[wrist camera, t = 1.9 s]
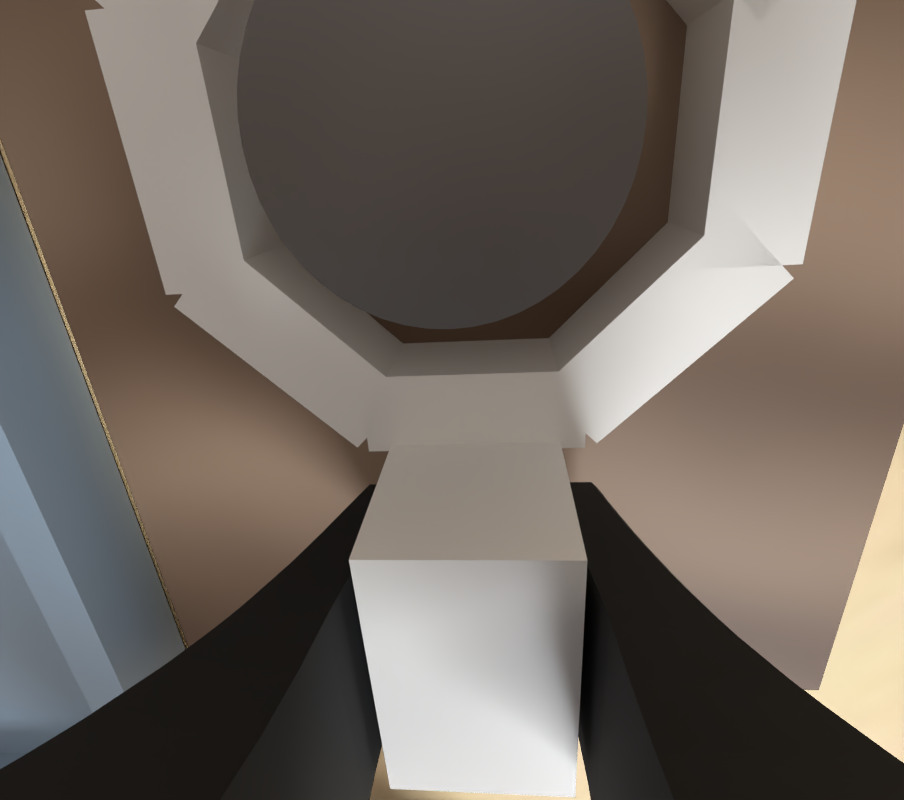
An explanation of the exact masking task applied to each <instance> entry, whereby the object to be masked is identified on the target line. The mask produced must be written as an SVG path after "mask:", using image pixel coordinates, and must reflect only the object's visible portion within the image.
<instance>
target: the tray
mask: <svg viewBox="0 0 904 800" xmlns="http://www.w3.org/2000/svg"><path fill="white" fill-rule="evenodd" d="M184 650H185V647H184V644H183V642H182V639H181V636H180V634H179V631H178V628H177V626H176V623H175V620H174V618H173V615H172V612H171V610H170V607H169V604H168V602H167V599H166V596H165V594H164V591H163V588H162V586H161V583H160V580H159V578H158V575H157V572H156V569H155V567H154V564H153V561H152V559H151V556H150V553H149V551H148V548H147V545H146V543H145V540H144V537H143V535H142V532H141V529H140V527H139V524H138V521H137V519H136V516H135V513H134V511H133V508H132V505H131V503H130V500H129V497H128V495H127V492H126V489H125V487H124V484H123V481H122V479H121V476H120V473H119V471H118V468H117V465H116V463H115V460H114V457H113V454H112V452H111V449H110V446H109V444H108V441H107V438H106V436H105V433H104V430H103V428H102V425H101V422H100V420H99V417H98V414H97V412H96V409H95V406H94V404H93V401H92V398H91V396H90V393H89V390H88V388H87V385H86V382H85V380H84V377H83V374H82V372H81V369H80V366H79V364H78V361H77V358H76V356H75V353H74V350H73V348H72V345H71V342H70V340H69V337H68V334H67V331H66V329H65V326H64V323H63V321H62V318H61V315H60V313H59V310H58V307H57V305H56V302H55V299H54V297H53V294H52V291H51V289H50V286H49V283H48V281H47V278H46V275H45V273H44V270H43V267H42V265H41V262H40V259H39V257H38V254H37V251H36V249H35V246H34V243H33V241H32V238H31V235H30V233H29V230H28V227H27V225H26V222H25V219H24V217H23V214H22V211H21V208H20V206H19V203H18V200H17V198H16V195H15V192H14V190H13V187H12V184H11V182H10V179H9V176H8V174H7V171H6V168H5V166H4V163H3V160H2V158H1V155H0V769H1V768H3V767H5V766H6V765H8V764H10V763H12V762H13V761H15V760H17V759H19V758H20V757H22V756H24V755H25V754H27V753H28V752H30V751H32V750H33V749H35V748H37V747H38V746H40V745H42V744H43V743H45V742H47V741H48V740H50V739H52V738H53V737H55V736H57V735H58V734H60V733H62V732H63V731H65V730H67V729H68V728H70V727H71V726H73V725H75V724H76V723H78V722H79V721H81V720H83V719H84V718H86V717H87V716H89V715H90V714H92V713H93V712H95V711H96V710H98V709H99V708H101V707H102V706H104V705H105V704H107V703H108V702H110V701H111V700H113V699H114V698H116V697H117V696H119V695H120V694H122V693H123V692H125V691H126V690H128V689H129V688H131V687H132V686H134V685H135V684H137V683H138V682H140V681H141V680H143V679H144V678H146V677H147V676H149V675H150V674H152V673H153V672H155V671H156V670H158V669H159V668H161V667H162V666H164V665H165V664H166V663H168V662H169V661H171V660H172V659H173V658H175V657H176V656H178V655H179V654H180V653H182V652H183V651H184Z"/></svg>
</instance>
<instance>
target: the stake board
mask: <svg viewBox="0 0 904 800" xmlns="http://www.w3.org/2000/svg"><path fill="white" fill-rule="evenodd" d="M94 9H104V8H103V7H102V6H101V5H100V4H99V3H98V2H97V1H95V0H0V139H1V141H2V144H3V147H4V150H5V152H6V155H7V158H8V160H9V163H10V166H11V168H12V171H13V174H14V177H15V179H16V182H17V185H18V187H19V190H20V193H21V196H22V198H23V201H24V204H25V206H26V209H27V212H28V214H29V217H30V220H31V223H32V225H33V228H34V231H35V233H36V236H37V239H38V242H39V244H40V247H41V250H42V252H43V255H44V258H45V260H46V263H47V266H48V269H49V271H50V274H51V277H52V279H53V282H54V285H55V287H56V290H57V293H58V296H59V298H60V301H61V304H62V306H63V309H64V312H65V315H66V317H67V320H68V323H69V325H70V328H71V331H72V333H73V336H74V339H75V342H76V344H77V347H78V350H79V352H80V355H81V358H82V361H83V363H84V366H85V369H86V371H87V374H88V377H89V379H90V382H91V385H92V388H93V390H94V393H95V396H96V398H97V401H98V404H99V406H100V409H101V412H102V415H103V417H104V420H105V423H106V425H107V428H108V431H109V434H110V436H111V439H112V442H113V444H114V447H115V450H116V452H117V455H118V458H119V461H120V463H121V466H122V469H123V471H124V474H125V477H126V480H127V482H128V485H129V488H130V490H131V493H132V496H133V498H134V501H135V504H136V507H137V509H138V512H139V515H140V517H141V520H142V523H143V525H144V528H145V531H146V534H147V536H148V539H149V542H150V544H151V547H152V550H153V553H154V555H155V558H156V561H157V563H158V566H159V569H160V571H161V574H162V577H163V580H164V582H165V585H166V588H167V590H168V593H169V596H170V599H171V601H172V604H173V607H174V609H175V612H176V615H177V617H178V620H179V623H180V626H181V628H182V631H183V634H184V636H185V639H186V642H187V644H188V647H190V646H191V645H192V644H194V643H195V642H196V641H198V640H199V639H200V638H202V637H203V636H204V635H206V634H207V633H208V632H210V631H211V630H212V629H214V628H215V627H216V626H217V625H219V624H220V623H221V622H222V621H224V620H225V619H226V618H227V617H229V616H230V615H231V614H232V613H234V612H235V611H236V610H237V609H239V608H240V607H241V606H242V605H243V604H245V603H246V602H247V601H248V600H249V599H250V598H252V597H253V596H254V595H255V594H256V593H257V592H258V591H259V590H261V589H262V588H263V587H264V586H265V585H266V584H267V583H268V582H270V581H271V580H272V579H273V578H274V577H275V576H276V575H277V574H279V573H280V572H281V571H282V570H283V569H284V568H285V567H287V566H288V565H289V564H290V563H291V562H292V561H293V560H294V559H295V558H296V557H297V556H298V555H299V554H300V553H301V552H302V551H303V550H305V549H306V548H307V547H308V546H309V545H310V544H311V543H312V542H313V541H314V540H315V539H316V538H317V537H318V536H319V535H320V534H321V533H322V532H323V531H324V530H325V529H326V528H327V527H328V526H329V525H330V524H331V523H332V522H333V521H334V520H335V519H336V518H337V517H338V516H339V515H340V514H341V513H342V512H343V511H344V510H345V509H346V508H347V507H348V506H349V505H350V504H351V503H352V502H353V501H354V500H355V499H356V498H357V497H358V496H359V495H360V494H361V493H362V492H363V491H364V490H365V489H366V488H367V487H368V486H369V485H370V484H377V482H378V479H379V477H380V474H381V471H382V468H383V466H384V463H385V460H386V458H387V455H388V452H389V451H369V448H368V441H367V438H366V439H365V440H364V441H363V442H362V443H361V445H360V446H359V447H358V448H357V447H356V446H355V445H353V444H352V443H351V442H350V441H348V440H347V439H346V438H344V437H343V436H342V435H340V434H339V433H338V432H336V431H335V430H334V429H333V428H331V427H330V426H329V425H327V424H326V423H325V422H323V421H322V420H321V419H320V418H318V417H317V416H316V415H314V414H313V413H312V412H310V411H309V410H308V409H307V408H305V407H304V406H303V405H301V404H300V403H299V402H297V401H296V400H295V399H294V398H292V397H291V396H290V395H288V394H287V393H286V392H284V391H283V390H282V389H281V388H279V387H278V386H277V385H275V384H274V383H273V382H271V381H270V380H269V379H268V378H266V377H265V376H264V375H262V374H261V373H260V372H258V371H257V370H256V369H255V368H253V367H252V366H251V365H249V364H248V363H247V362H245V361H244V360H243V359H242V358H240V357H239V356H238V355H236V354H235V353H234V352H232V351H231V350H230V349H229V348H227V347H226V346H225V345H223V344H222V343H221V342H219V341H218V340H217V339H216V338H214V337H213V336H212V335H210V334H209V333H208V332H206V331H205V330H204V329H203V328H201V327H200V326H199V325H197V324H196V323H195V322H193V321H192V320H191V319H190V318H188V317H187V316H186V315H184V314H183V313H182V312H180V311H179V310H178V309H177V308H175V307H174V306H175V305H176V303H177V302H178V300H179V298H180V297H181V295H182V294H172V295H166V293H165V290H164V286H163V283H162V279H161V276H160V272H159V269H158V265H157V262H156V258H155V255H154V251H153V248H152V244H151V241H150V237H149V234H148V230H147V227H146V223H145V220H144V216H143V213H142V209H141V206H140V202H139V199H138V195H137V192H136V188H135V185H134V181H133V178H132V174H131V171H130V167H129V164H128V160H127V157H126V153H125V150H124V146H123V143H122V139H121V136H120V132H119V129H118V125H117V122H116V118H115V115H114V111H113V108H112V104H111V101H110V97H109V94H108V90H107V87H106V83H105V80H104V76H103V73H102V69H101V66H100V62H99V59H98V55H97V52H96V48H95V45H94V41H93V38H92V34H91V31H90V27H89V24H88V20H87V17H86V13H85V10H94ZM686 31H687V25H686V23H685V22H684V21H683V20H682V19H681V17H680V16H679V15H678V14H677V13H676V11H675V10H674V9H673V8H672V7H671V5H670V4H669V3H668V2H667V1H666V0H254V3H253V6H252V9H251V12H250V15H249V18H248V21H247V24H246V27H245V32H244V37H243V42H242V47H241V52H240V57H239V69H238V81H237V105H238V122H239V129H240V136H241V143H242V149H243V152H244V156H245V160H246V164H247V168H248V172H249V175H250V178H251V180H252V183H253V186H254V188H255V191H256V194H257V196H258V199H259V201H260V203H261V205H262V207H263V209H264V211H265V213H266V215H267V217H268V219H269V221H270V223H271V225H272V226H273V228H274V229H275V231H276V232H277V234H278V235H279V237H280V238H281V240H282V241H283V243H284V244H285V246H286V247H287V248H288V250H289V251H290V252H291V253H292V254H293V255H294V257H295V258H296V259H297V260H298V261H299V263H300V264H301V265H302V266H303V267H304V268H305V269H306V270H307V271H308V272H309V273H310V274H311V275H312V276H313V277H314V278H315V279H317V280H318V281H319V282H320V283H321V284H322V285H323V286H325V287H326V288H327V289H329V290H330V291H332V292H333V293H334V294H336V295H337V296H338V297H340V298H341V299H343V300H345V301H346V302H348V303H350V304H352V305H353V306H355V307H357V308H359V309H360V310H362V311H365V312H366V313H368V314H369V315H370V316H371V317H372V318H373V319H375V320H376V321H377V322H378V323H379V324H381V325H382V326H383V327H384V328H385V329H386V330H388V331H389V332H390V333H391V334H392V335H394V336H395V337H396V338H397V339H398V340H399V341H401V342H402V343H428V342H455V341H482V340H510V339H537V338H549V337H550V336H551V335H552V334H554V333H555V332H556V331H557V330H558V329H559V328H560V327H561V326H562V325H563V324H564V323H565V322H566V321H567V320H568V319H569V318H570V317H571V316H572V315H573V314H574V313H575V312H576V311H577V310H578V309H579V308H580V307H581V306H582V305H583V304H584V303H585V302H586V301H587V300H588V299H589V298H591V297H592V296H593V295H594V294H595V293H596V292H597V291H598V290H599V289H600V288H601V287H602V286H603V285H604V284H605V283H606V282H607V281H608V280H609V279H610V278H611V277H612V276H613V275H614V274H615V273H616V272H617V271H618V270H619V269H620V268H621V267H622V266H623V265H624V264H625V263H627V262H628V261H629V260H630V259H631V258H632V257H633V256H634V255H635V254H636V253H637V252H638V251H639V250H640V249H641V248H642V247H643V246H644V245H645V244H646V243H647V242H648V241H649V240H650V239H651V238H652V237H653V236H654V235H655V234H656V233H657V232H658V231H659V230H660V229H661V228H662V227H664V226H665V225H666V224H667V223H668V214H669V204H670V194H671V184H672V174H673V164H674V153H675V143H676V133H677V123H678V113H679V103H680V92H681V82H682V72H683V62H684V52H685V42H686ZM782 266H783V267H784V268H785V269H786V270H787V271H788V272H789V273H790V275H791V276H792V277H793V278H794V279H793V280H791V281H790V282H789V283H788V284H787V285H785V286H784V287H783V288H782V289H781V290H780V291H778V292H777V293H776V294H775V295H774V296H772V297H771V298H770V299H769V300H768V301H766V302H765V303H764V304H763V305H762V306H760V307H759V308H758V309H757V310H756V311H754V312H753V313H752V314H751V315H750V316H748V317H747V318H746V319H745V320H744V321H743V322H741V323H740V324H739V325H738V326H737V327H735V328H734V329H733V330H732V331H731V332H729V333H728V334H727V335H726V336H725V337H723V338H722V339H721V340H720V341H719V342H717V343H716V344H715V345H714V346H713V347H711V348H710V349H709V350H708V351H707V352H705V353H704V354H703V355H702V356H701V357H700V358H698V359H697V360H696V361H695V362H694V363H692V364H691V365H690V366H689V367H688V368H686V369H685V370H684V371H683V372H682V373H680V374H679V375H678V376H677V377H676V378H674V379H673V380H672V381H671V382H670V383H668V384H667V385H666V386H665V387H664V388H662V389H661V390H660V391H659V392H658V393H657V394H655V395H654V396H653V397H652V398H651V399H649V400H648V401H647V402H646V403H645V404H643V405H642V406H641V407H640V408H639V409H637V410H636V411H635V412H634V413H633V414H631V415H630V416H629V417H628V418H627V419H625V420H624V421H623V422H622V423H621V424H619V425H618V426H617V427H616V428H615V429H614V430H612V431H611V432H610V433H609V434H608V435H606V436H605V437H604V438H603V439H602V440H600V441H599V442H598V443H596V442H595V441H594V440H593V439H591V438H590V437H589V436H588V435H587V434H586V435H585V448H562V451H563V455H564V459H565V464H566V468H567V473H568V477H569V481H570V482H592V483H593V484H594V485H595V486H596V487H597V488H598V489H599V490H600V492H601V493H602V494H603V495H604V497H605V498H606V499H607V500H608V502H609V503H610V504H611V505H612V507H613V508H614V509H615V510H616V511H617V513H618V514H619V515H620V516H621V517H622V519H623V520H624V521H625V522H626V523H627V524H628V526H629V527H630V528H631V529H632V530H633V531H634V533H635V534H636V535H637V536H638V537H639V538H640V539H641V540H642V542H643V543H644V544H645V545H646V546H647V547H648V548H649V549H650V550H651V551H652V552H653V554H654V555H655V556H656V557H657V558H658V559H659V560H660V561H661V562H662V563H663V564H664V565H665V566H666V567H667V568H668V570H669V571H670V572H671V573H672V574H673V575H674V576H675V577H676V578H677V579H678V580H679V581H680V582H681V583H682V584H683V585H684V586H685V587H686V588H687V589H688V590H689V591H690V592H691V593H692V594H693V595H694V596H695V597H696V598H697V599H698V600H700V601H701V602H702V603H703V604H704V605H705V606H706V607H707V608H708V609H709V610H710V611H711V612H712V613H713V614H714V615H715V616H716V617H717V618H718V619H720V620H721V621H722V622H723V623H724V624H725V625H726V626H727V627H728V628H729V629H731V630H732V631H733V632H734V633H735V634H736V635H737V636H738V637H740V638H741V639H742V640H743V641H744V642H745V643H747V644H748V645H749V646H750V647H752V648H753V649H754V650H755V651H756V652H758V653H759V654H760V655H761V656H762V657H764V658H765V659H766V660H767V661H768V662H770V663H771V664H772V665H773V666H774V667H776V668H777V669H778V670H779V671H780V672H782V673H783V674H784V675H785V676H787V677H788V678H789V679H790V680H792V681H793V682H794V683H795V684H797V685H798V686H799V687H801V688H802V689H803V690H819V687H820V684H821V681H822V678H823V674H824V671H825V668H826V665H827V662H828V659H829V656H830V653H831V649H832V646H833V643H834V640H835V637H836V634H837V631H838V627H839V624H840V621H841V618H842V615H843V612H844V609H845V606H846V602H847V599H848V596H849V593H850V590H851V587H852V584H853V580H854V577H855V574H856V571H857V568H858V565H859V562H860V558H861V555H862V552H863V549H864V546H865V543H866V540H867V537H868V533H869V530H870V527H871V524H872V521H873V518H874V515H875V511H876V508H877V505H878V502H879V499H880V496H881V493H882V489H883V486H884V483H885V480H886V477H887V474H888V471H889V468H890V464H891V461H892V458H893V455H894V452H895V449H896V446H897V442H898V439H899V436H900V433H901V430H902V427H903V424H904V0H857V1H856V6H855V10H854V15H853V20H852V25H851V30H850V35H849V40H848V45H847V50H846V55H845V60H844V64H843V69H842V74H841V79H840V84H839V89H838V94H837V99H836V104H835V109H834V113H833V118H832V123H831V128H830V133H829V138H828V143H827V148H826V153H825V158H824V162H823V167H822V172H821V177H820V182H819V187H818V192H817V197H816V202H815V207H814V212H813V216H812V221H811V226H810V231H809V236H808V241H807V246H806V251H805V256H804V261H803V264H798V265H782Z"/></svg>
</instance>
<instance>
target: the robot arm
mask: <svg viewBox="0 0 904 800" xmlns="http://www.w3.org/2000/svg"><path fill="white" fill-rule="evenodd" d="M376 485H377V484H370V485H369V486H368V487H367V488H366V489H365V490H364V491H363V492H362V493H361V494H360V495H359V496H358V497H357V498H356V499H355V500H354V501H353V502H352V503H351V504H350V505H349V506H348V507H347V508H346V509H345V510H344V511H343V512H342V513H341V514H340V515H339V516H338V517H337V518H336V519H335V520H334V521H333V522H332V523H331V524H330V525H329V526H328V527H327V528H326V529H325V530H324V531H323V532H322V533H321V534H320V535H319V536H318V537H317V538H316V539H315V540H314V541H313V542H312V543H311V544H310V545H309V546H308V547H307V548H306V549H305V550H303V551H302V552H301V553H300V554H299V555H298V556H297V557H296V558H295V559H294V560H293V561H292V562H291V563H290V564H289V565H288V566H287V567H285V568H284V569H283V570H282V571H281V572H280V573H279V574H277V575H276V576H275V577H274V578H273V579H272V580H271V581H270V582H268V583H267V584H266V585H265V586H264V587H263V588H262V589H261V590H259V591H258V592H257V593H256V594H255V595H254V596H253V597H252V598H250V599H249V600H248V601H247V602H246V603H245V604H243V605H242V606H241V607H240V608H239V609H237V610H236V611H235V612H234V613H232V614H231V615H230V616H229V617H227V618H226V619H225V620H224V621H222V622H221V623H220V624H219V625H217V626H216V627H215V628H214V629H212V630H211V631H210V632H208V633H207V634H206V635H204V636H203V637H202V638H200V639H199V640H198V641H196V642H195V643H194V644H192V645H191V646H190V647H188V648H187V649H186V650H184V651H183V652H182V653H180V654H179V655H178V656H176V657H175V658H173V659H172V660H171V661H169V662H168V663H166V664H165V665H164V666H162V667H161V668H159V669H158V670H156V671H155V672H153V673H152V674H150V675H149V676H147V677H146V678H144V679H143V680H141V681H140V682H138V683H137V684H135V685H134V686H132V687H131V688H129V689H128V690H126V691H125V692H123V693H122V694H120V695H119V696H117V697H116V698H114V699H113V700H111V701H110V702H108V703H107V704H105V705H104V706H102V707H101V708H99V709H98V710H96V711H95V712H93V713H92V714H90V715H89V716H87V717H86V718H84V719H83V720H81V721H79V722H78V723H76V724H75V725H73V726H71V727H70V728H68V729H67V730H65V731H63V732H62V733H60V734H58V735H57V736H55V737H53V738H52V739H50V740H48V741H47V742H45V743H43V744H42V745H40V746H38V747H37V748H35V749H33V750H32V751H30V752H28V753H27V754H25V755H24V756H22V757H20V758H19V759H17V760H15V761H13V762H12V763H10V764H8V765H6V766H5V767H3V768H1V769H0V800H370V795H371V790H372V785H373V781H374V776H375V771H376V767H377V763H378V759H379V755H380V751H381V747H382V741H381V735H380V730H379V724H378V719H377V713H376V708H375V702H374V697H373V691H372V686H371V680H370V675H369V669H368V664H367V658H366V653H365V647H364V642H363V636H362V631H361V625H360V620H359V614H358V609H357V603H356V597H355V592H354V586H353V581H352V575H351V570H350V564H349V558H350V555H351V552H352V550H353V547H354V544H355V541H356V539H357V536H358V533H359V531H360V528H361V525H362V523H363V520H364V517H365V514H366V512H367V509H368V506H369V504H370V501H371V498H372V496H373V493H374V490H375V487H376ZM570 486H571V490H572V495H573V499H574V503H575V508H576V512H577V517H578V521H579V525H580V530H581V534H582V539H583V543H584V548H585V552H586V556H587V579H586V598H585V617H584V636H583V655H582V674H581V694H580V713H579V732H578V736H579V741H580V746H581V751H582V756H583V760H584V765H585V770H586V775H587V780H588V785H589V791H590V796H591V800H904V763H903V762H901V761H900V760H898V759H897V758H896V757H894V756H893V755H891V754H890V753H888V752H887V751H886V750H884V749H883V748H882V747H880V746H879V745H877V744H876V743H875V742H873V741H872V740H871V739H869V738H868V737H867V736H865V735H864V734H862V733H861V732H860V731H858V730H857V729H856V728H854V727H853V726H851V725H850V724H849V723H847V722H846V721H845V720H843V719H842V718H840V717H839V716H838V715H836V714H835V713H834V712H832V711H831V710H830V709H828V708H827V707H825V706H824V705H823V704H821V703H820V702H819V701H817V700H816V699H815V698H814V697H812V696H811V695H810V694H808V693H807V692H806V691H804V690H803V689H802V688H801V687H799V686H798V685H797V684H795V683H794V682H793V681H792V680H790V679H789V678H788V677H787V676H785V675H784V674H783V673H782V672H780V671H779V670H778V669H777V668H776V667H774V666H773V665H772V664H771V663H770V662H768V661H767V660H766V659H765V658H764V657H762V656H761V655H760V654H759V653H758V652H756V651H755V650H754V649H753V648H752V647H750V646H749V645H748V644H747V643H745V642H744V641H743V640H742V639H741V638H740V637H738V636H737V635H736V634H735V633H734V632H733V631H732V630H731V629H729V628H728V627H727V626H726V625H725V624H724V623H723V622H722V621H721V620H720V619H718V618H717V617H716V616H715V615H714V614H713V613H712V612H711V611H710V610H709V609H708V608H707V607H706V606H705V605H704V604H703V603H702V602H701V601H700V600H698V599H697V598H696V597H695V596H694V595H693V594H692V593H691V592H690V591H689V590H688V589H687V588H686V587H685V586H684V585H683V584H682V583H681V582H680V581H679V580H678V579H677V578H676V577H675V576H674V575H673V574H672V573H671V572H670V571H669V570H668V568H667V567H666V566H665V565H664V564H663V563H662V562H661V561H660V560H659V559H658V558H657V557H656V556H655V555H654V554H653V552H652V551H651V550H650V549H649V548H648V547H647V546H646V545H645V544H644V543H643V542H642V540H641V539H640V538H639V537H638V536H637V535H636V534H635V533H634V531H633V530H632V529H631V528H630V527H629V526H628V524H627V523H626V522H625V521H624V520H623V519H622V517H621V516H620V515H619V514H618V513H617V511H616V510H615V509H614V508H613V507H612V505H611V504H610V503H609V502H608V500H607V499H606V498H605V497H604V495H603V494H602V493H601V492H600V490H599V489H598V488H597V487H596V486H595V485H594V484H593V483H592V482H570Z"/></svg>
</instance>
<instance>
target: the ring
mask: <svg viewBox="0 0 904 800" xmlns="http://www.w3.org/2000/svg"><path fill="white" fill-rule="evenodd" d="M95 1H97V2H98V3H99V4H100V5H101V6H102V7H103V8H104V9H94V10H85V13H86V17H87V20H88V24H89V27H90V31H91V34H92V38H93V41H94V45H95V48H96V52H97V55H98V59H99V62H100V66H101V69H102V73H103V76H104V80H105V83H106V87H107V90H108V94H109V97H110V101H111V104H112V108H113V111H114V115H115V118H116V122H117V125H118V129H119V132H120V136H121V139H122V143H123V146H124V150H125V153H126V157H127V160H128V164H129V167H130V171H131V174H132V178H133V181H134V185H135V188H136V192H137V195H138V199H139V202H140V206H141V209H142V213H143V216H144V220H145V223H146V227H147V230H148V234H149V237H150V241H151V244H152V248H153V251H154V255H155V258H156V262H157V265H158V269H159V272H160V276H161V279H162V283H163V286H164V290H165V293H166V295H172V294H182V295H181V297H180V298H179V300H178V302H177V303H176V305H175V306H174V307H175V308H177V309H178V310H179V311H180V312H182V313H183V314H184V315H186V316H187V317H188V318H190V319H191V320H192V321H193V322H195V323H196V324H197V325H199V326H200V327H201V328H203V329H204V330H205V331H206V332H208V333H209V334H210V335H212V336H213V337H214V338H216V339H217V340H218V341H219V342H221V343H222V344H223V345H225V346H226V347H227V348H229V349H230V350H231V351H232V352H234V353H235V354H236V355H238V356H239V357H240V358H242V359H243V360H244V361H245V362H247V363H248V364H249V365H251V366H252V367H253V368H255V369H256V370H257V371H258V372H260V373H261V374H262V375H264V376H265V377H266V378H268V379H269V380H270V381H271V382H273V383H274V384H275V385H277V386H278V387H279V388H281V389H282V390H283V391H284V392H286V393H287V394H288V395H290V396H291V397H292V398H294V399H295V400H296V401H297V402H299V403H300V404H301V405H303V406H304V407H305V408H307V409H308V410H309V411H310V412H312V413H313V414H314V415H316V416H317V417H318V418H320V419H321V420H322V421H323V422H325V423H326V424H327V425H329V426H330V427H331V428H333V429H334V430H335V431H336V432H338V433H339V434H340V435H342V436H343V437H344V438H346V439H347V440H348V441H350V442H351V443H352V444H353V445H355V446H356V447H357V448H358V447H359V446H360V445H361V443H362V442H363V441H364V440H365V439H366V438H367V441H368V448H369V451H389V452H388V455H387V458H386V460H385V463H384V466H383V468H382V471H381V474H380V477H379V479H378V482H377V485H376V487H375V490H374V493H373V496H372V498H371V501H370V504H369V506H368V509H367V512H366V514H365V517H364V520H363V523H362V525H361V528H360V531H359V533H358V536H357V539H356V541H355V544H354V547H353V550H352V552H351V555H350V558H349V564H350V570H351V575H352V581H353V586H354V592H355V597H356V603H357V609H358V614H359V620H360V625H361V631H362V636H363V642H364V647H365V653H366V658H367V664H368V669H369V675H370V680H371V686H372V691H373V697H374V702H375V708H376V713H377V719H378V724H379V730H380V735H381V741H382V746H383V752H384V757H385V763H386V768H387V774H388V779H389V785H390V789H403V790H426V791H448V792H470V793H492V794H515V795H537V796H559V797H575V789H576V770H577V751H578V732H579V713H580V694H581V674H582V655H583V636H584V617H585V598H586V579H587V556H586V552H585V548H584V543H583V539H582V534H581V530H580V525H579V521H578V517H577V512H576V508H575V503H574V499H573V495H572V490H571V486H570V481H569V477H568V473H567V468H566V464H565V459H564V455H563V451H562V448H585V435H586V434H587V435H588V436H589V437H590V438H591V439H593V440H594V441H595V442H596V443H598V442H599V441H600V440H602V439H603V438H604V437H605V436H606V435H608V434H609V433H610V432H611V431H612V430H614V429H615V428H616V427H617V426H618V425H619V424H621V423H622V422H623V421H624V420H625V419H627V418H628V417H629V416H630V415H631V414H633V413H634V412H635V411H636V410H637V409H639V408H640V407H641V406H642V405H643V404H645V403H646V402H647V401H648V400H649V399H651V398H652V397H653V396H654V395H655V394H657V393H658V392H659V391H660V390H661V389H662V388H664V387H665V386H666V385H667V384H668V383H670V382H671V381H672V380H673V379H674V378H676V377H677V376H678V375H679V374H680V373H682V372H683V371H684V370H685V369H686V368H688V367H689V366H690V365H691V364H692V363H694V362H695V361H696V360H697V359H698V358H700V357H701V356H702V355H703V354H704V353H705V352H707V351H708V350H709V349H710V348H711V347H713V346H714V345H715V344H716V343H717V342H719V341H720V340H721V339H722V338H723V337H725V336H726V335H727V334H728V333H729V332H731V331H732V330H733V329H734V328H735V327H737V326H738V325H739V324H740V323H741V322H743V321H744V320H745V319H746V318H747V317H748V316H750V315H751V314H752V313H753V312H754V311H756V310H757V309H758V308H759V307H760V306H762V305H763V304H764V303H765V302H766V301H768V300H769V299H770V298H771V297H772V296H774V295H775V294H776V293H777V292H778V291H780V290H781V289H782V288H783V287H784V286H785V285H787V284H788V283H789V282H790V281H791V280H793V279H794V278H793V277H792V276H791V275H790V273H789V272H788V271H787V270H786V269H785V268H784V267H783V266H782V265H798V264H803V261H804V256H805V251H806V246H807V241H808V236H809V231H810V226H811V221H812V216H813V212H814V207H815V202H816V197H817V192H818V187H819V182H820V177H821V172H822V167H823V162H824V158H825V153H826V148H827V143H828V138H829V133H830V128H831V123H832V118H833V113H834V109H835V104H836V99H837V94H838V89H839V84H840V79H841V74H842V69H843V64H844V60H845V55H846V50H847V45H848V40H849V35H850V30H851V25H852V20H853V15H854V10H855V6H856V1H857V0H666V1H667V2H668V3H669V4H670V5H671V7H672V8H673V9H674V10H675V11H676V13H677V14H678V15H679V16H680V17H681V19H682V20H683V21H684V22H685V23H686V25H687V31H686V42H685V52H684V62H683V72H682V82H681V92H680V103H679V113H678V123H677V133H676V143H675V153H674V164H673V174H672V184H671V194H670V204H669V214H668V223H667V224H666V225H665V226H664V227H662V228H661V229H660V230H659V231H658V232H657V233H656V234H655V235H654V236H653V237H652V238H651V239H650V240H649V241H648V242H647V243H646V244H645V245H644V246H643V247H642V248H641V249H640V250H639V251H638V252H637V253H636V254H635V255H634V256H633V257H632V258H631V259H630V260H629V261H628V262H627V263H625V264H624V265H623V266H622V267H621V268H620V269H619V270H618V271H617V272H616V273H615V274H614V275H613V276H612V277H611V278H610V279H609V280H608V281H607V282H606V283H605V284H604V285H603V286H602V287H601V288H600V289H599V290H598V291H597V292H596V293H595V294H594V295H593V296H592V297H591V298H589V299H588V300H587V301H586V302H585V303H584V304H583V305H582V306H581V307H580V308H579V309H578V310H577V311H576V312H575V313H574V314H573V315H572V316H571V317H570V318H569V319H568V320H567V321H566V322H565V323H564V324H563V325H562V326H561V327H560V328H559V329H558V330H557V331H556V332H555V333H554V334H552V335H551V336H550V337H549V338H537V339H510V340H482V341H455V342H428V343H402V342H401V341H399V340H398V339H397V338H396V337H395V336H394V335H392V334H391V333H390V332H389V331H388V330H386V329H385V328H384V327H383V326H382V325H381V324H379V323H378V322H377V321H376V320H375V319H373V318H372V317H371V316H370V315H369V314H368V313H366V312H365V311H362V310H360V309H359V308H357V307H355V306H353V305H352V304H350V303H348V302H346V301H345V300H343V299H341V298H340V297H338V296H337V295H336V294H334V293H333V292H332V291H330V290H329V289H327V288H326V287H325V286H323V285H322V284H321V283H320V282H319V281H318V280H317V279H315V278H314V277H313V276H312V275H311V274H310V273H309V272H308V271H307V270H306V269H305V268H304V267H303V266H302V265H301V264H300V263H299V261H298V260H297V259H296V258H295V257H294V255H293V254H292V253H291V252H290V251H289V250H288V248H287V247H286V246H285V244H284V243H283V241H282V240H281V238H280V237H279V235H278V234H277V232H276V231H275V229H274V228H273V226H272V225H271V223H270V221H269V219H268V217H267V215H266V213H265V211H264V209H263V207H262V205H261V203H260V201H259V199H258V196H257V194H256V191H255V188H254V186H253V183H252V180H251V178H250V175H249V172H248V168H247V164H246V160H245V156H244V152H243V149H242V143H241V136H240V129H239V122H238V105H237V81H238V69H239V57H240V52H241V47H242V42H243V37H244V32H245V27H246V24H247V21H248V18H249V15H250V12H251V9H252V6H253V3H254V0H95Z"/></svg>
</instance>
